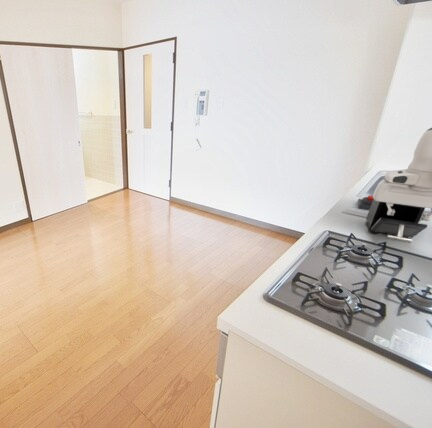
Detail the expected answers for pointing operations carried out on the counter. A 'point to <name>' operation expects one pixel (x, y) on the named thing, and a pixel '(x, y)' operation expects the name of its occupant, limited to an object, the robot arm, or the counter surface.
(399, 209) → the oven
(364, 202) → the release box
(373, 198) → the release button
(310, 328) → the counter surface
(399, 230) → the oven door
